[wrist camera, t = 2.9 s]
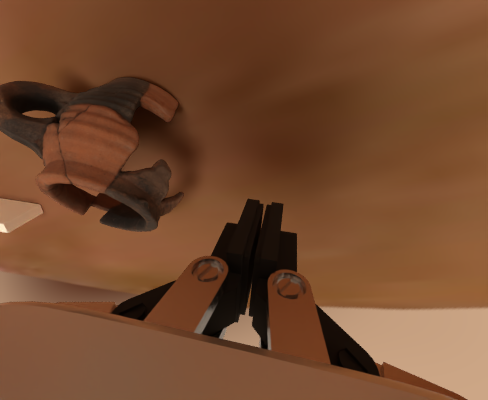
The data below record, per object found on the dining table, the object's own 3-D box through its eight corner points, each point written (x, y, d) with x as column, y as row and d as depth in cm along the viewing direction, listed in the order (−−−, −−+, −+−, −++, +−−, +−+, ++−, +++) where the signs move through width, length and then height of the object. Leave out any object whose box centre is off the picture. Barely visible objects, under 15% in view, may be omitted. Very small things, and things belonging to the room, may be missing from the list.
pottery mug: (222, 112, 17) (185, 214, 13) (185, 172, 25) (154, 247, 20) (26, -3, 13) (-118, 92, 9) (54, 111, 21) (-16, 190, 16)
